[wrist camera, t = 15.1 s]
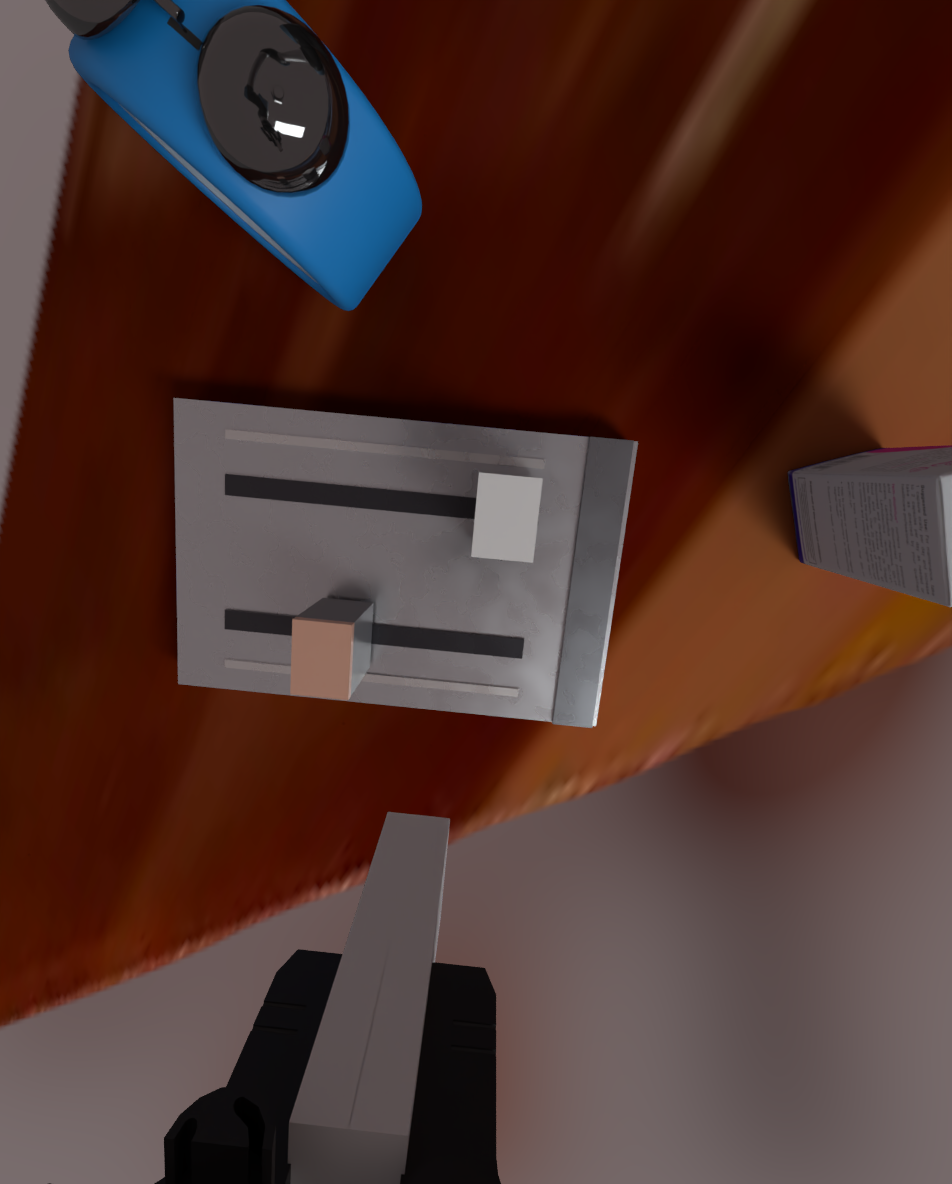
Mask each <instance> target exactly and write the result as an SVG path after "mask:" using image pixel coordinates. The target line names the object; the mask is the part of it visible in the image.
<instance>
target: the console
mask: <svg viewBox="0 0 952 1184" xmlns="http://www.w3.org/2000/svg"><path fill="white" fill-rule="evenodd" d="M637 446H638V442H636V441H631V440H620V439H610V438H599V437H583V436H573V435H562V434H552V433H541V432H531V431H520V430H509V429H499V428H488V427H478V426H467V425H457V424H446V423H435V422H425V421H414V420H404V419H393V418H382V417H372V416H361V415H351V414H340V413H330V412H319V411H308V410H298V409H287V408H277V407H266V406H256V405H245V404H234V403H224V402H213V401H203V400H192V399H181V398H174V457H175V519H176V580H177V642H178V684H184V685H193V686H203V687H213V688H223V689H233V690H243V691H253V692H263V693H273V694H283V695H292V694H290V686H291V649H292V619H293V618H295V617H296V616H298V615H299V614H300V613H302V612H303V611H305V610H306V609H308V608H309V607H310V606H312V605H313V604H315V603H316V602H317V601H319V600H320V599H322V598H332V599H342V600H352V601H362V602H373V603H374V605H373V622H372V639H371V657H370V668H369V669H368V671H367V672H366V674H365V675H364V677H363V678H362V680H361V681H360V683H359V685H358V686H357V688H356V689H355V691H354V692H353V694H352V695H351V697H350V698H349V700H342V701H352V702H362V703H372V704H382V705H391V706H401V707H411V708H421V709H431V710H441V711H451V712H461V713H471V714H480V715H490V716H500V717H510V718H520V719H530V720H540V721H550V722H552V723H553V724H559V725H569V726H579V727H589V728H592V726H596V723H597V716H598V709H599V703H600V696H601V689H602V682H603V676H604V669H605V662H606V655H607V649H608V642H609V635H610V628H611V621H612V615H613V608H614V601H615V594H616V588H617V581H618V574H619V567H620V561H621V554H622V547H623V540H624V534H625V527H626V520H627V513H628V507H629V500H630V493H631V486H632V479H633V473H634V466H635V459H636V452H637ZM479 472H480V473H491V474H501V475H512V476H522V477H533V478H543V481H542V490H541V499H540V507H539V516H538V524H537V533H536V542H535V550H534V559H533V563H530V562H520V561H509V560H499V559H489V558H479V557H471V552H472V542H473V531H474V520H475V509H476V498H477V488H478V477H479ZM292 696H302V695H292ZM302 697H312V696H302ZM312 698H321V697H312ZM322 699H331V698H322ZM332 700H341V699H332Z"/></svg>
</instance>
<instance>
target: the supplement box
mask: <svg viewBox="0 0 952 1184" xmlns="http://www.w3.org/2000/svg"><path fill="white" fill-rule="evenodd" d="M788 482H789V489H790V495H791V502H792V509H793V516H794V524H795V533H796V541H797V548H798V555H799V560H800V562H801V563H804V564H807V565H811V566H814V567H817V568H820V569H824V570H827V571H830V572H834V573H837V574H841V575H844V576H848V577H851V578H854V579H858V580H861V581H864V582H868V583H871V584H875V585H878V586H881V587H885V588H888V589H891V590H895V591H898V592H902V593H905V594H908V595H912V596H915V597H918V598H922V599H925V600H928V601H932V602H935V603H939V604H942V605H945V606H948V607H952V446H926V447H904V448H880V449H874V450H870V451H865V452H861V453H857V454H853V455H848V456H845V457H841V458H837V459H833V460H828V461H824V462H821V463H817V464H813V465H809V466H805V467H802V468H798V469H795V470H791V471H788Z"/></svg>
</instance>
